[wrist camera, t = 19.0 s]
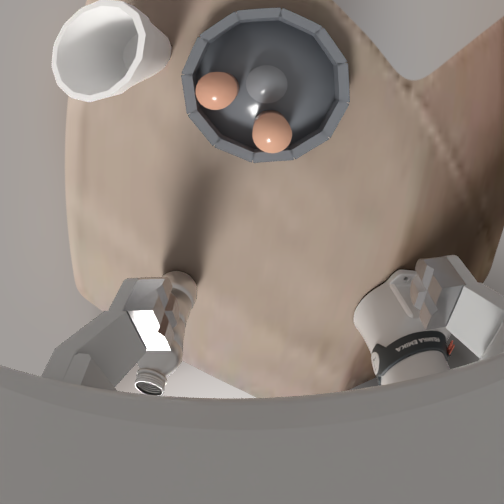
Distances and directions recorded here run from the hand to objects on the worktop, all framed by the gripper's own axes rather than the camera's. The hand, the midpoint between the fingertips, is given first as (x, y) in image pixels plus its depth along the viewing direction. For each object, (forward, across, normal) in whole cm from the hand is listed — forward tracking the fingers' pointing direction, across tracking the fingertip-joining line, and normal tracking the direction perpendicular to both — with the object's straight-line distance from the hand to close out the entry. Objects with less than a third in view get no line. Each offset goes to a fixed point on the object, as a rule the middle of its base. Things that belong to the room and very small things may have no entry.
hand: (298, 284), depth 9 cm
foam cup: (+29, -14, +11) cm, 34 cm away
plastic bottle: (+29, -16, -23) cm, 41 cm away
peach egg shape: (+28, -5, +5) cm, 29 cm away
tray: (+29, 0, +5) cm, 30 cm away
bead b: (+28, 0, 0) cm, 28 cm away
